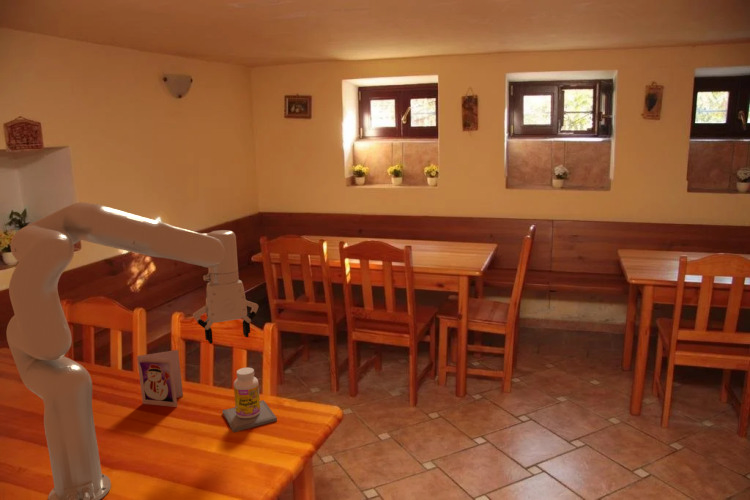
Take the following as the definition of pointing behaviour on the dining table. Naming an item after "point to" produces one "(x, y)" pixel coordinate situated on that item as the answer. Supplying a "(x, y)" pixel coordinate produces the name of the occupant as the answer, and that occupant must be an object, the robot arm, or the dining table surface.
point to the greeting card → (160, 378)
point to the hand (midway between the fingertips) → (228, 338)
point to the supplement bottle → (246, 394)
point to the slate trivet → (242, 424)
